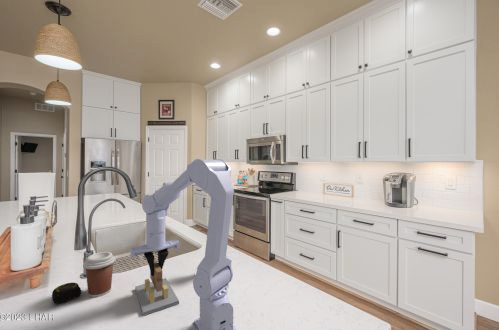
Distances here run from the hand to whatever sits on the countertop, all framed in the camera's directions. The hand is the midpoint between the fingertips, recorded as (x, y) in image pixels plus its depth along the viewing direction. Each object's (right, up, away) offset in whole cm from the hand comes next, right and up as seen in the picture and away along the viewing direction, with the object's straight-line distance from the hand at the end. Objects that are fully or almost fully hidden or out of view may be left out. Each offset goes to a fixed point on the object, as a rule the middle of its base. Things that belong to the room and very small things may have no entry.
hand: (156, 273), depth 74 cm
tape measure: (-27, -8, -2) cm, 28 cm away
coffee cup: (-20, -7, +3) cm, 21 cm away
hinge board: (0, -7, 0) cm, 7 cm away
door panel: (0, -3, 0) cm, 3 cm away
